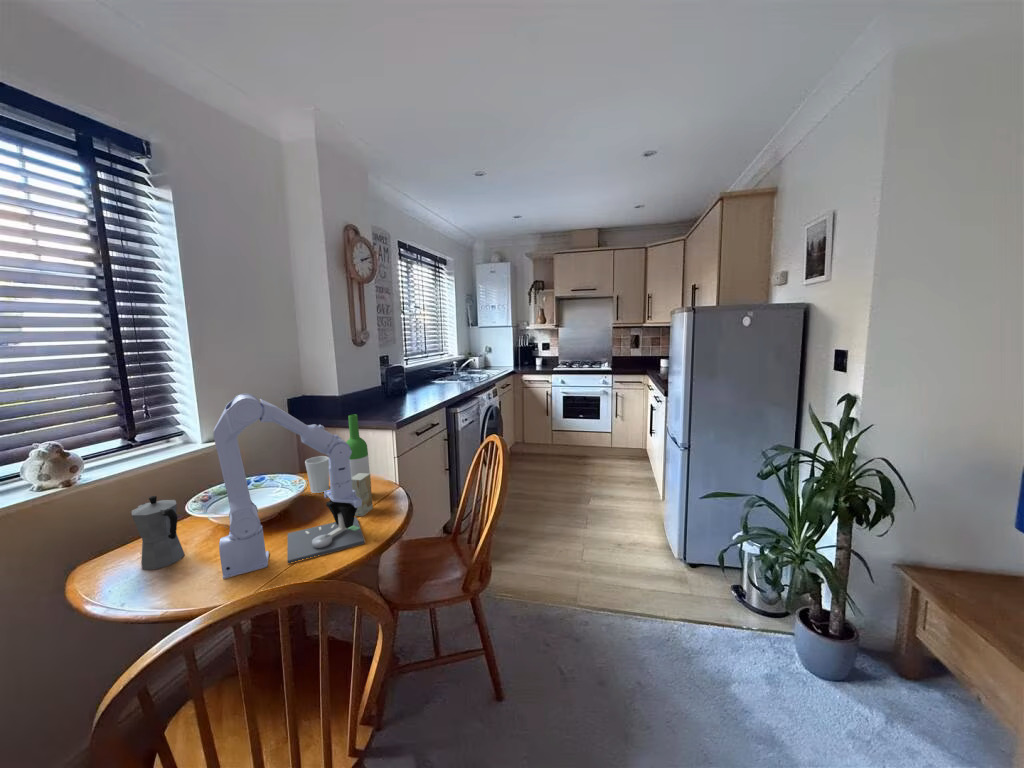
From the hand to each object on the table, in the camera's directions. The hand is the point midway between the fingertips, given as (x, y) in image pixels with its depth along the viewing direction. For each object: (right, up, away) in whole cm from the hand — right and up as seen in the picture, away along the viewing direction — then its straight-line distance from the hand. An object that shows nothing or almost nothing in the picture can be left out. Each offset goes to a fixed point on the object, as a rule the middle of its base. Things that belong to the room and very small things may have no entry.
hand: (344, 525), depth 118 cm
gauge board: (-5, -4, -2) cm, 6 cm away
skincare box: (0, -1, +15) cm, 15 cm away
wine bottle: (-5, 0, +26) cm, 26 cm away
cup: (-23, +1, +33) cm, 41 cm away
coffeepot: (-43, -6, -10) cm, 45 cm away
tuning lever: (-2, -2, -2) cm, 4 cm away
